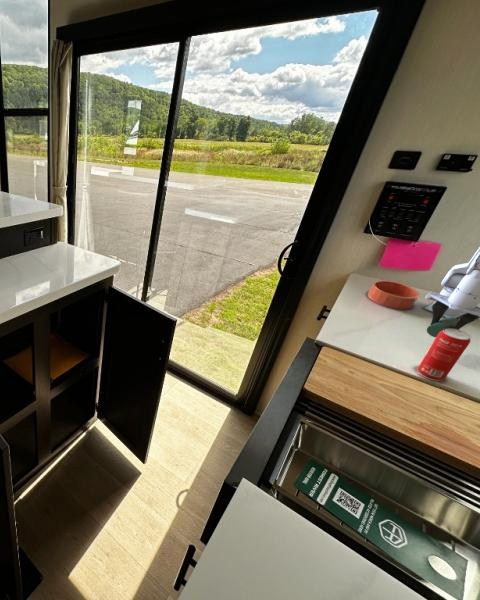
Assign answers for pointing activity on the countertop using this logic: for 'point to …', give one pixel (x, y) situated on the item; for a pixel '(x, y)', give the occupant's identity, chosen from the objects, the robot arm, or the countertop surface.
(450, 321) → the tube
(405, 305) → the bowl
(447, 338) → the beverage can
